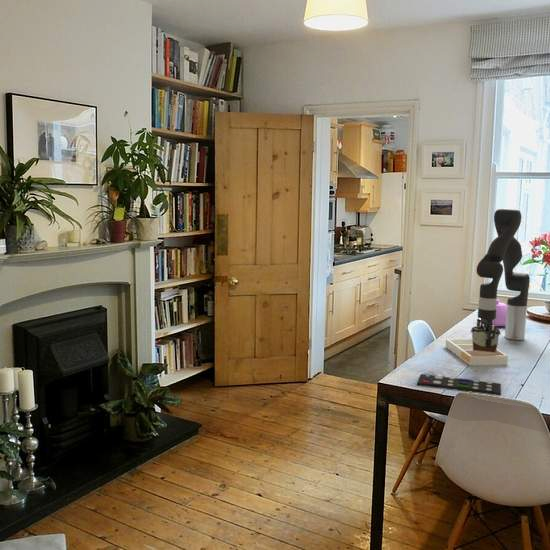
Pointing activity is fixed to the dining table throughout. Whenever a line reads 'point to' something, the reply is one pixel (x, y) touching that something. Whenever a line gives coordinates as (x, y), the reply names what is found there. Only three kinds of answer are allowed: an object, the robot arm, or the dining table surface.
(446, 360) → the dining table surface
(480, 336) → the food container
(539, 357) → the dining table surface
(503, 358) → the cream compartment tray
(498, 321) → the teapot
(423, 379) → the remote control
